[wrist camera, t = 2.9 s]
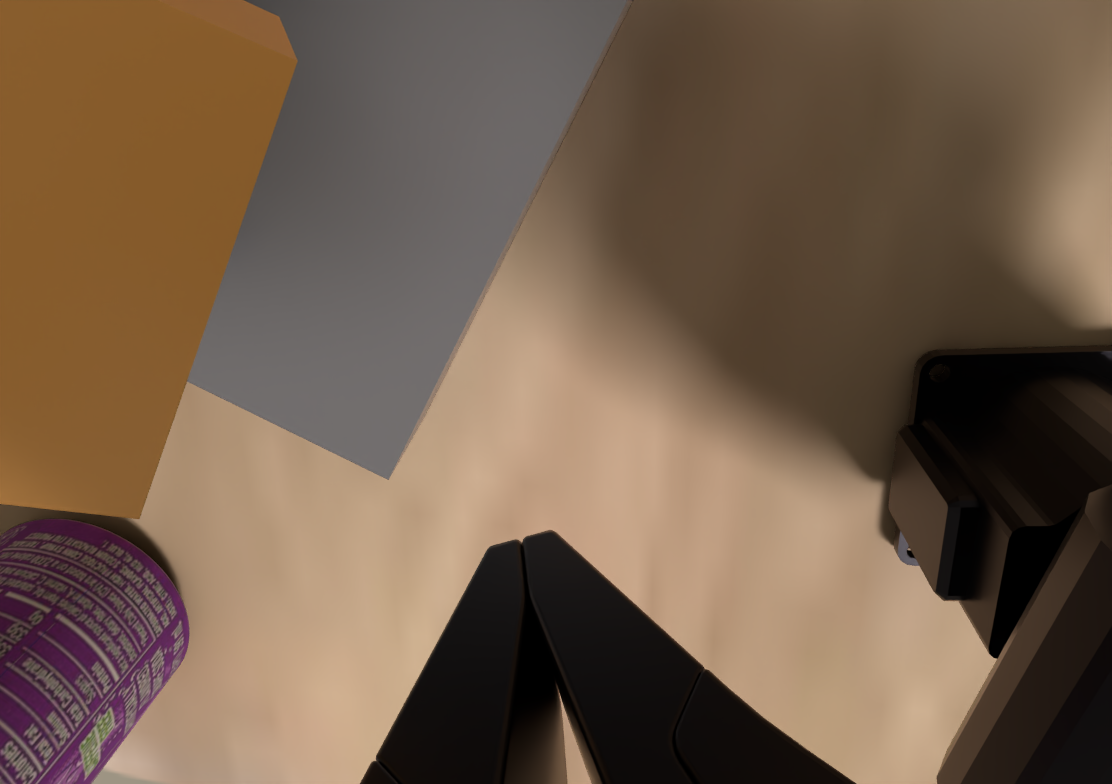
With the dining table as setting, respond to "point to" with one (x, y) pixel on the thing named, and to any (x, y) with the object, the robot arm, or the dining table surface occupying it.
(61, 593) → the beverage can
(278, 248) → the box
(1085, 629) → the robot arm
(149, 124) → the lever
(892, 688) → the dining table surface
